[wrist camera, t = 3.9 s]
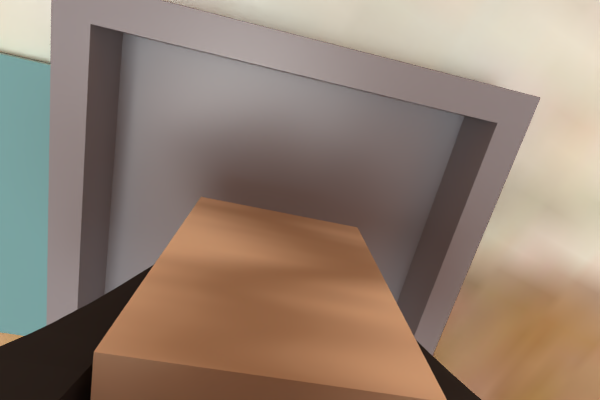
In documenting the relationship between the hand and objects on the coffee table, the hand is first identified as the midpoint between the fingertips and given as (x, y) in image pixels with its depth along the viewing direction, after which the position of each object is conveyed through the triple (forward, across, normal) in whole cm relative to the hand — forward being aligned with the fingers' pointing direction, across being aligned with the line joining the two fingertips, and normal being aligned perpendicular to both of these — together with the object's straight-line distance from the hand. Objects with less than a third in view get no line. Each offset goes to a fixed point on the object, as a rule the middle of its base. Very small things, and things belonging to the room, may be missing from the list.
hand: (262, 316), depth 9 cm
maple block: (+2, 0, 0) cm, 2 cm away
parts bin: (+6, 0, 0) cm, 6 cm away
